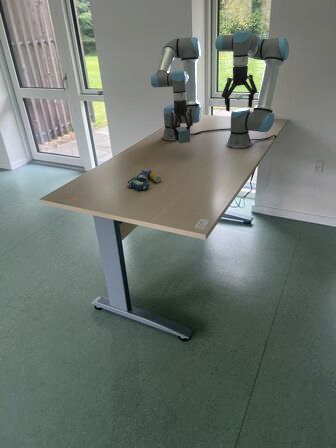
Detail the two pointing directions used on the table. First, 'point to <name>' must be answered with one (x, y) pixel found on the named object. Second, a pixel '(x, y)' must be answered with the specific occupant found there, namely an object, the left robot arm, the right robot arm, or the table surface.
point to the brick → (183, 135)
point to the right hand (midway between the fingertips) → (239, 109)
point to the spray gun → (143, 179)
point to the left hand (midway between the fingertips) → (182, 138)
